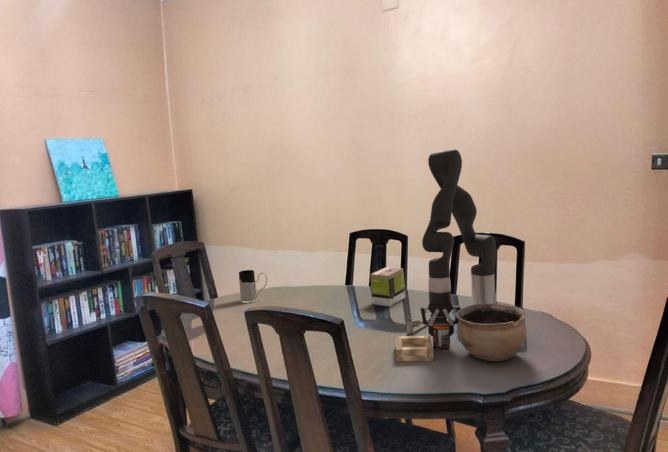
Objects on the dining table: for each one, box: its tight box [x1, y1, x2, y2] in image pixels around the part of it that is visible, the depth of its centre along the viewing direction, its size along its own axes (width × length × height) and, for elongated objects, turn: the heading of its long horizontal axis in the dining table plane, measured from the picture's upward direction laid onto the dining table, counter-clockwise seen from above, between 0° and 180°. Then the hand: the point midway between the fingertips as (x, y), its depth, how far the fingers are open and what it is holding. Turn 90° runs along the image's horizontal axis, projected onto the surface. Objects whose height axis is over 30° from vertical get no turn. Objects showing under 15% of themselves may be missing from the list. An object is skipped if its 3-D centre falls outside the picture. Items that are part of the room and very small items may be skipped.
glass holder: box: [238, 269, 268, 301], centre depth 242 cm, size 9×14×15 cm, turn 96°
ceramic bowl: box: [455, 303, 527, 362], centre depth 159 cm, size 22×22×15 cm
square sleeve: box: [394, 335, 434, 362], centre depth 166 cm, size 12×12×4 cm
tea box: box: [370, 266, 406, 307], centre depth 227 cm, size 15×10×15 cm
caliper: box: [406, 317, 430, 336], centre depth 191 cm, size 20×1×6 cm, turn 137°
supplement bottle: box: [432, 316, 451, 350], centre depth 170 cm, size 6×6×11 cm
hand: (441, 335), depth 170 cm, fingers closed on supplement bottle, 6 cm apart
